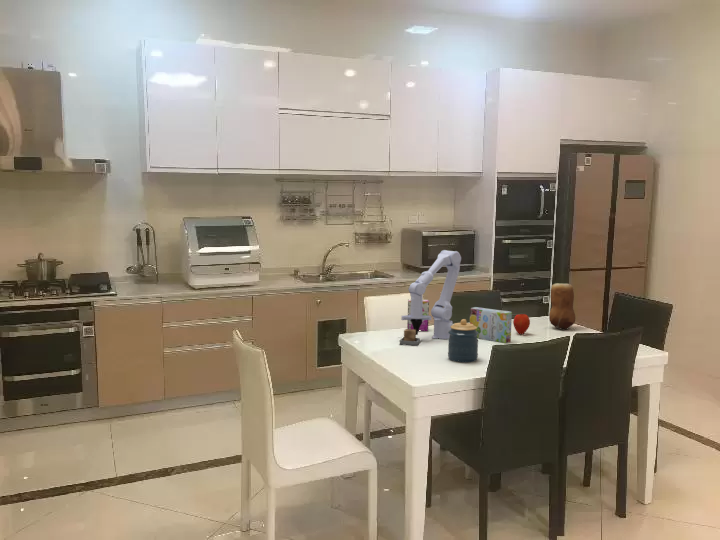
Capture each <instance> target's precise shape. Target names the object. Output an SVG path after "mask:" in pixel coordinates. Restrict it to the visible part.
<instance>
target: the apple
mask: <svg viewBox="0 0 720 540" xmlns="http://www.w3.org/2000/svg"><path fill="white" fill-rule="evenodd" d="M512 324H513V327H514V329H515V331H516V332H517V335H524V334H525V333H526V332H527V330H528V329H529V327H530V325H531V319H530V317H529V316H528V315H527V314H525V313H524V314H523V313H521V314H520V313H519V314H516V315H515V316H514V318H513V321H512Z"/></svg>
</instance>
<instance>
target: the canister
mask: <svg viewBox="0 0 720 540" xmlns="http://www.w3.org/2000/svg"><path fill="white" fill-rule="evenodd" d="M467 321H468V320H467V319H466V318H463V319H461V320H460V322H454V323H453V325H452V326H450V327H451V330H450V331H449V332H448V333H449V334H450V336H449V339H447V340H448V348H447V349H448V351H447V356H448V360H450V361H452V362H456V363H473V362H476V361H477V360H478V356H479V353H478V349H479V346H478V345H479V338H477V335H478V334H479V333H478V332H477V331H476V329H477V327H476V326H474V325H473V324H471V323H470V322H467Z"/></svg>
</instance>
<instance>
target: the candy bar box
mask: <svg viewBox="0 0 720 540" xmlns="http://www.w3.org/2000/svg"><path fill="white" fill-rule="evenodd" d="M429 308H430V300H429V299H423V305H422V315H426V316H430V314H429V313H430V312H429V311H430V309H429ZM407 315H411V298H409V299H407ZM406 324H407V328H406V329H414V328H413V325H412V323H411V320H407V323H406ZM419 330H421V331H420V332H429V320H422V324H421V326H420V328H419Z"/></svg>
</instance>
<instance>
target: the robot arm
mask: <svg viewBox="0 0 720 540" xmlns="http://www.w3.org/2000/svg"><path fill="white" fill-rule="evenodd" d="M461 261H462V256H461V254H460V252H459V251H457V250H455V251H453V250H446V249H443V250H441V251H440V253H438V255H437V258H436V260H435V261H434V262H433V263H432V265H431V266H430V267H429V269H428V270H426V271H425V270H424V271H423V272H421V275H420V276H419V277H418V278H417V279H415V282H412V283H410V285H409V287H408V292H409V293H410V295H409V296H410V299H411V315H408V314H407V315H406V314H405V315H401V316H400V317H401V318H400V319H401V320H402V321H408V320H411V323H412V325H413V328H414V330H416V336H418V335H419V332H420V331H419V328H420V326H421V324H422V320H428V321H432V319H433V335H432V337H431V338H432V339H438V338H439V339H441V340H448V339H449V336H450V334H449V333H448V332H449V331H450V330H451V327H450V326H452V325H453V324H454V322H453V320H450V319H451V318H452V316H453V312H452V311H453V306H452V305H451V300H452V297H453V293H454V291H455V287H456V284H457V281H458V277H459V273H460V269H461ZM444 266H445V268H446V269H447V273H446V276H445V280H444V283H443V286H442V289H441V293H440V296H439V299H438V300H437V301H435V302H434V305H433V307H431V310H430V315H429V316H426V315H422V305H423V300H424V299H423V298H424V297H423V295H425V292H426V289H427V286H429V284H430V283H431V282H432V281H433V280H434V275H435V274H437V272H438V271H439V270H441V268H442V267H444ZM432 317H433V318H432ZM439 339H438V340H439Z"/></svg>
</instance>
